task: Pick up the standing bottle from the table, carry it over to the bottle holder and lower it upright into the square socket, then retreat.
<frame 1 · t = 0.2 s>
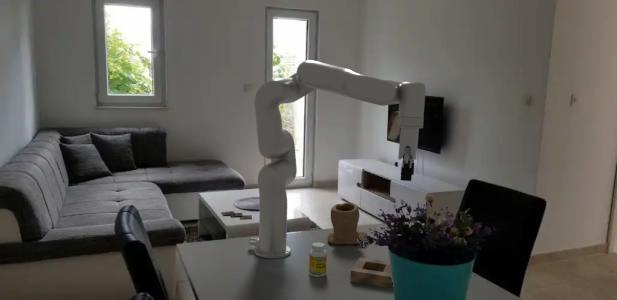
hand: (407, 177, 155), 31 cm above the table, tool pointing down, fingers open, 9 cm apart
stone cup: (347, 243, 185), on the table
supplement bottle: (317, 274, 156), on the table
bottle holder: (373, 277, 154), on the table
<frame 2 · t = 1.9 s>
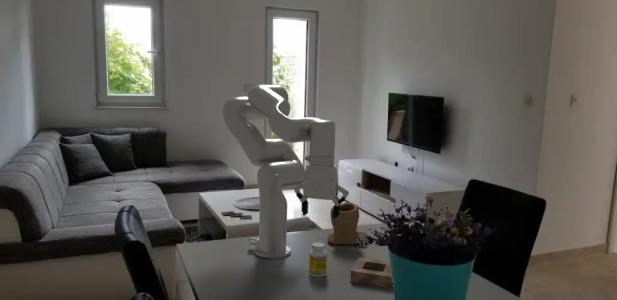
hand: (320, 216, 153), 19 cm above the table, tool pointing down, fingers open, 9 cm apart
nothing on the table moved.
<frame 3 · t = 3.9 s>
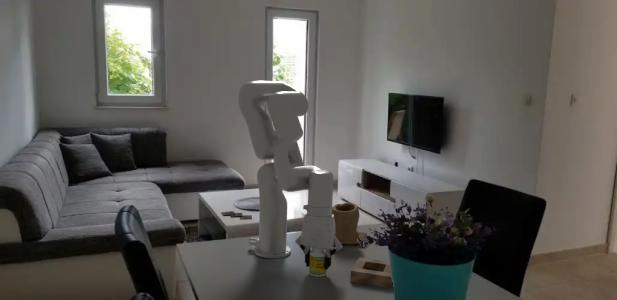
hand: (317, 266, 155), 2 cm above the table, tool pointing down, fingers closed on supplement bottle, 5 cm apart
supplement bottle: (317, 274, 156), on the table, touching gripper
everything else where it was.
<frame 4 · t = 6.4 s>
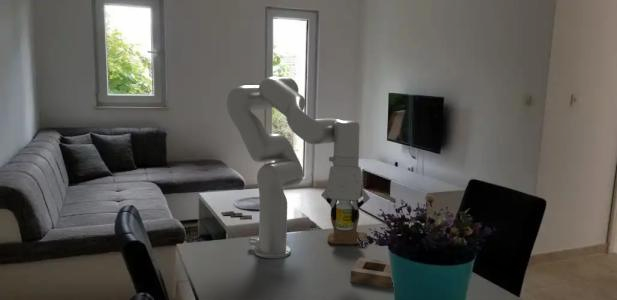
hand: (344, 219, 152), 18 cm above the table, tool pointing down, fingers closed on supplement bottle, 5 cm apart
supplement bottle: (344, 228, 153), point 15 cm above the table, touching gripper
everything else where it was.
when the fingers open (4 cm above the table, at t = 9.3 s): supplement bottle drops 1 cm, resting in bottle holder.
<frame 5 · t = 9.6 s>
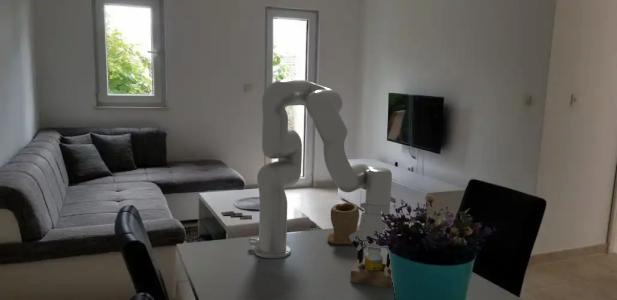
hand: (374, 263, 154), 4 cm above the table, tool pointing down, fingers open, 8 cm apart
supplement bottle: (372, 277, 155), resting in bottle holder
everything else where it was.
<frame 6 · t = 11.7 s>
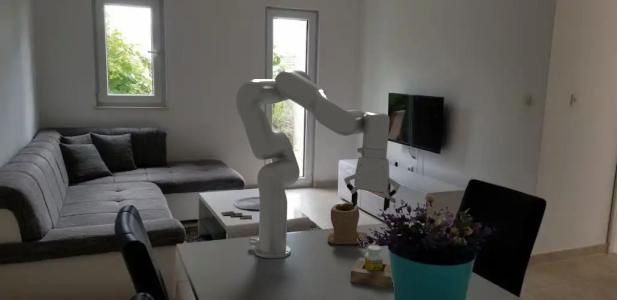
hand: (369, 207, 154), 21 cm above the table, tool pointing down, fingers open, 9 cm apart
nothing on the table moved.
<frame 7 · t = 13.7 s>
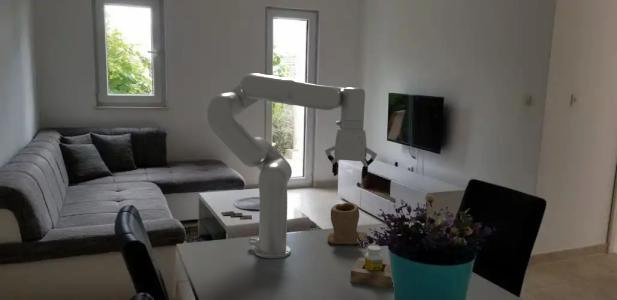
hand: (349, 176, 166), 28 cm above the table, tool pointing down, fingers open, 9 cm apart
nothing on the table moved.
at the end: supplement bottle 0.3 cm off-centre on the bottle holder, point 0.0 cm above the bottle holder's base; supplement bottle tilted 0°; the gripper is holding nothing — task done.
